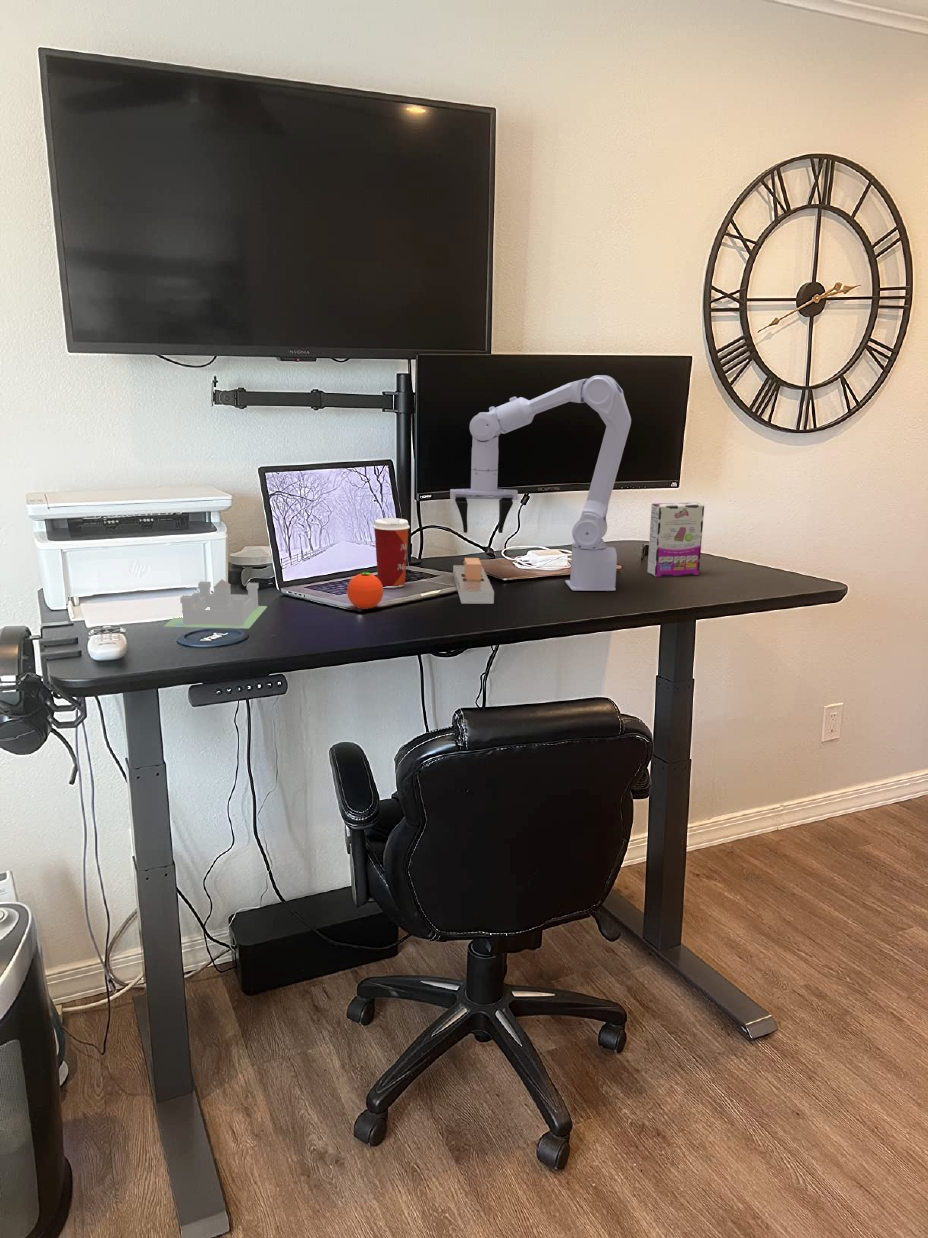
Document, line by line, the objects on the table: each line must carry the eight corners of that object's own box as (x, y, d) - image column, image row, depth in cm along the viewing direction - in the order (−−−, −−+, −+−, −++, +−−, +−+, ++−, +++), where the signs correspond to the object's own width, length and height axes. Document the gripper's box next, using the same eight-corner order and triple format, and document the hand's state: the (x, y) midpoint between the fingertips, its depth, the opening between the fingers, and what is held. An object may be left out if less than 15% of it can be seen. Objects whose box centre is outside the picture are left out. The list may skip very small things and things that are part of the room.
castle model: (249, 631, 158) (247, 590, 156) (163, 629, 158) (161, 588, 156) (267, 609, 172) (265, 571, 170) (189, 607, 172) (187, 569, 170)
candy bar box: (689, 571, 211) (695, 501, 206) (699, 575, 206) (706, 504, 202) (645, 572, 208) (650, 502, 204) (654, 577, 204) (660, 505, 199)
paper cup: (412, 589, 188) (413, 523, 184) (376, 590, 186) (375, 523, 182) (406, 580, 195) (406, 517, 191) (370, 582, 193) (370, 517, 189)
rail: (481, 576, 201) (481, 565, 200) (493, 603, 178) (494, 591, 177) (453, 576, 200) (453, 565, 199) (461, 603, 177) (461, 591, 176)
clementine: (351, 601, 177) (351, 566, 175) (386, 603, 176) (386, 568, 174) (344, 612, 169) (343, 575, 167) (380, 613, 169) (380, 577, 167)
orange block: (477, 585, 192) (478, 557, 191) (480, 592, 186) (481, 564, 185) (463, 585, 192) (464, 557, 190) (466, 592, 186) (467, 564, 184)
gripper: (515, 467, 197) (513, 529, 200) (449, 467, 195) (448, 528, 199) (520, 471, 190) (517, 534, 194) (451, 470, 189) (450, 534, 192)
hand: (482, 532), depth 196 cm, fingers open, 7 cm apart
